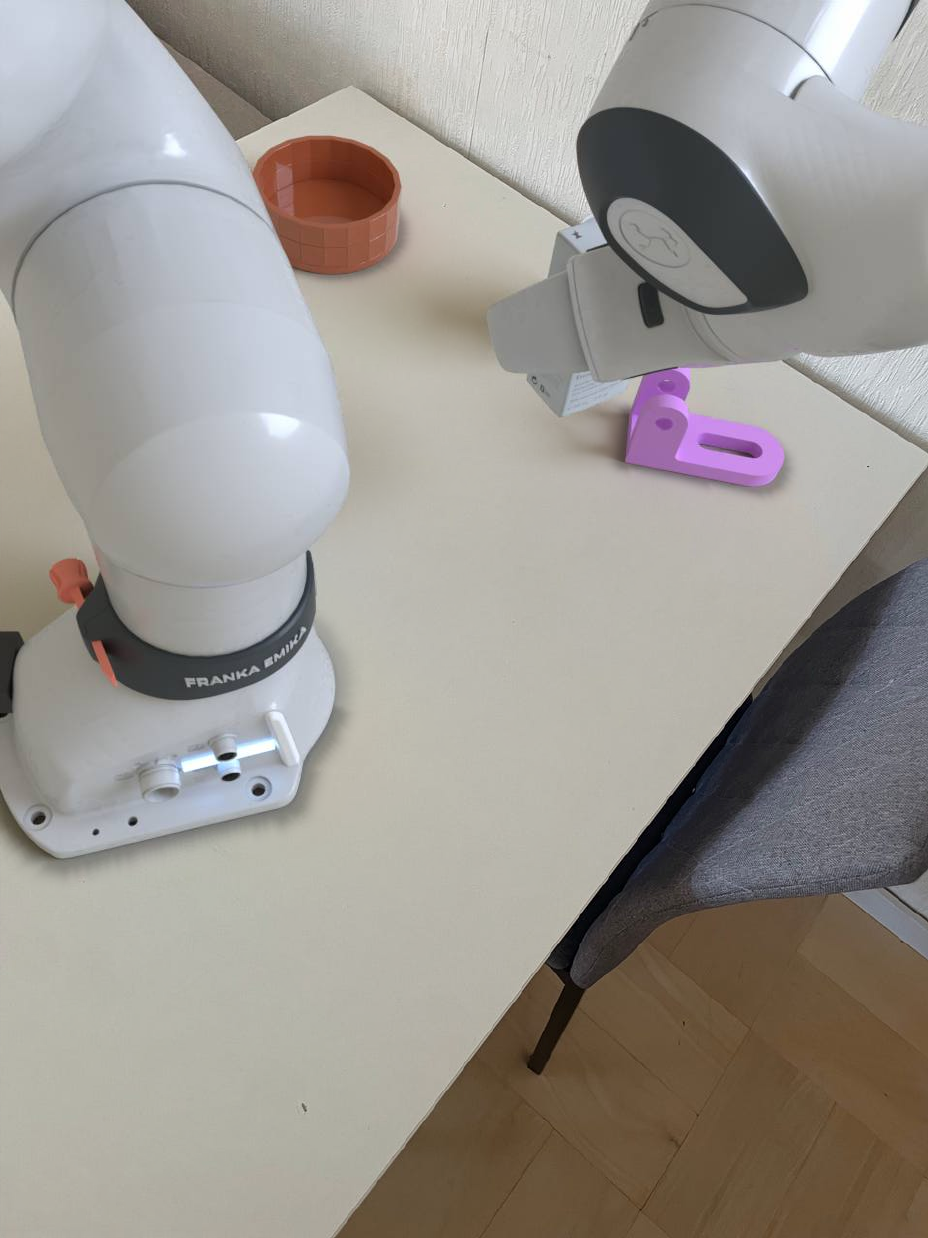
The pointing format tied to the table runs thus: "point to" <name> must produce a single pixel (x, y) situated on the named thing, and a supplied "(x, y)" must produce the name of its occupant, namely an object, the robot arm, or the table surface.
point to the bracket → (695, 436)
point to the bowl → (330, 202)
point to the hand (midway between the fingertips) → (590, 304)
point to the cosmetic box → (579, 388)
